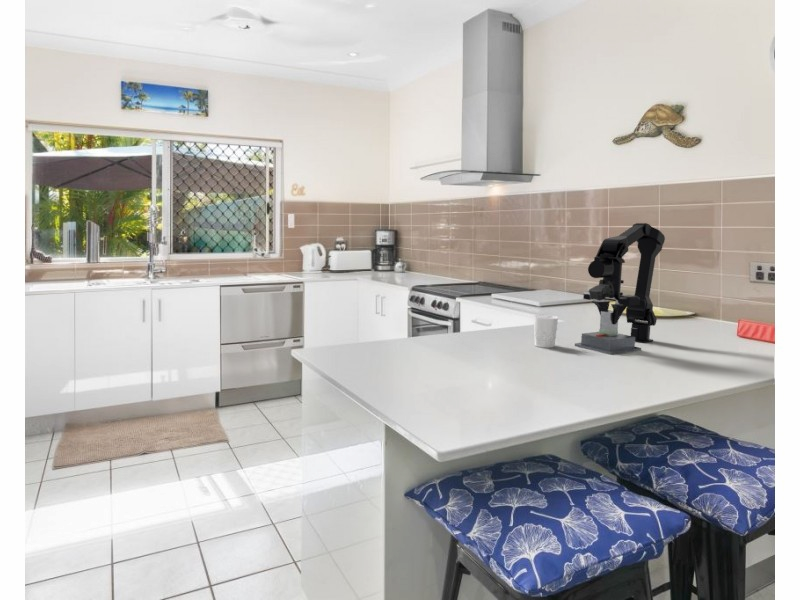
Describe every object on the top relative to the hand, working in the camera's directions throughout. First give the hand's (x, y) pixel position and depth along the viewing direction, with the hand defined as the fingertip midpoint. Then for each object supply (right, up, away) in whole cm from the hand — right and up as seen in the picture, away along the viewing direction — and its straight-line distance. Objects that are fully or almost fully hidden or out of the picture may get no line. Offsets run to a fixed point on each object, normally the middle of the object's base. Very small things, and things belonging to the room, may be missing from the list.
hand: (609, 323), depth 189 cm
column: (0, -5, +1) cm, 5 cm away
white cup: (-21, -8, +3) cm, 23 cm away
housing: (0, -8, +1) cm, 8 cm away
